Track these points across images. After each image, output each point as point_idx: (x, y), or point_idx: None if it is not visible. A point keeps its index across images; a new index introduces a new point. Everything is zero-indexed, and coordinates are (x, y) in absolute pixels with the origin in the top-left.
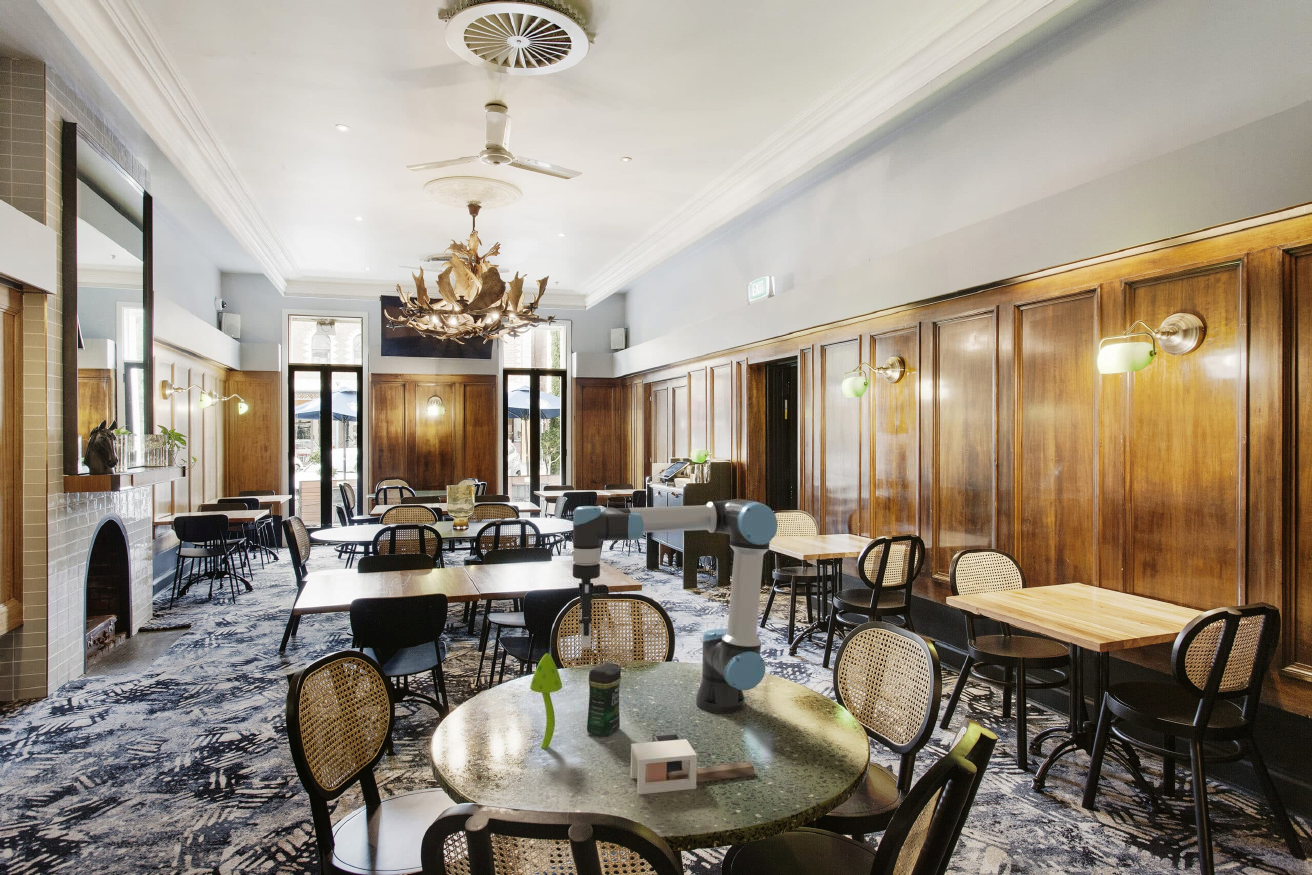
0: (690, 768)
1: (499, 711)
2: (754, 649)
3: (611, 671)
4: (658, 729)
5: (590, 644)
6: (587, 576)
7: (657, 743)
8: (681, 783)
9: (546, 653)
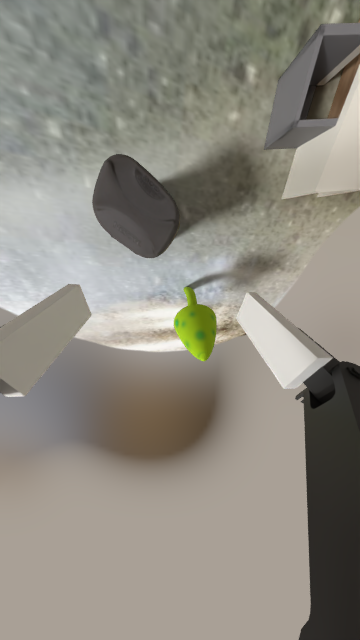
0: None
1: (108, 325)
2: None
3: (159, 198)
4: (147, 87)
5: (259, 298)
6: None
7: (348, 128)
8: None
9: (204, 360)
